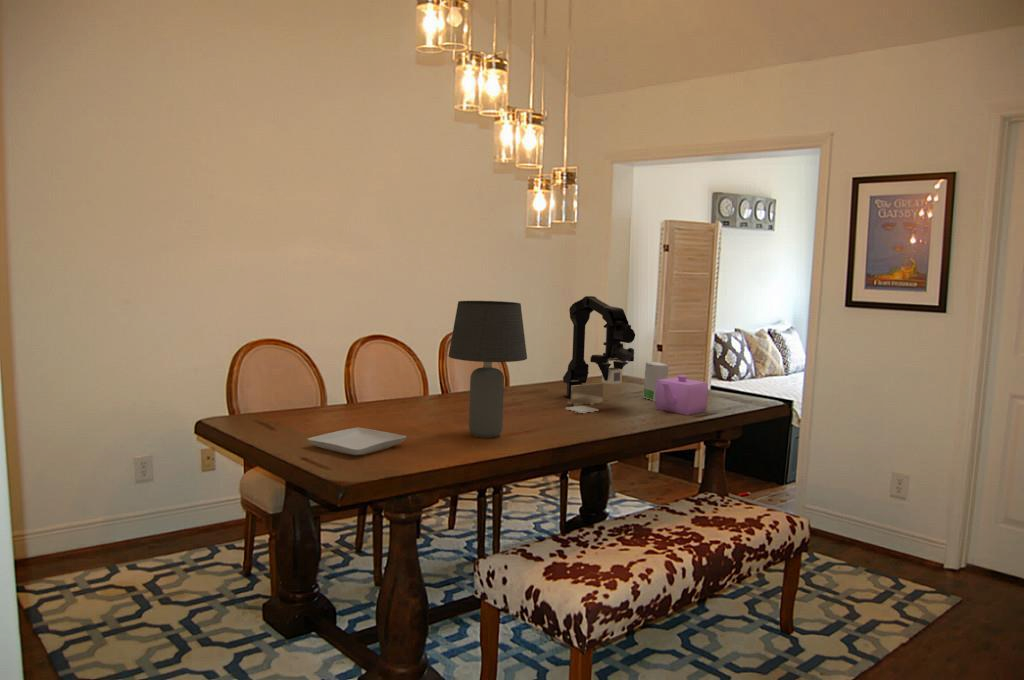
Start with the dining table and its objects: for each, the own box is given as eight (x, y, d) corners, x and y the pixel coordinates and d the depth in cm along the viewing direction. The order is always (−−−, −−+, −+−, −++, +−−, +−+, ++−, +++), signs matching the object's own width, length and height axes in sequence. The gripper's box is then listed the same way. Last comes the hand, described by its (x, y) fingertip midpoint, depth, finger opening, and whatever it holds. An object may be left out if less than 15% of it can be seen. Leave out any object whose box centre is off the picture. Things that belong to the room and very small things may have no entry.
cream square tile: (565, 409, 294) (565, 407, 294) (582, 407, 299) (583, 405, 299) (581, 413, 286) (581, 411, 286) (598, 411, 292) (598, 409, 292)
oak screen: (567, 404, 304) (568, 384, 303) (596, 401, 314) (597, 382, 313) (575, 406, 300) (576, 386, 299) (605, 403, 310) (606, 384, 309)
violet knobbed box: (643, 411, 296) (645, 375, 295) (681, 404, 313) (682, 371, 312) (676, 417, 285) (678, 380, 284) (713, 410, 302) (715, 375, 301)
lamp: (430, 434, 244) (433, 300, 240) (485, 423, 263) (488, 299, 259) (485, 448, 228) (490, 305, 223) (540, 436, 246) (545, 304, 242)
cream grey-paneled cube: (601, 382, 297) (602, 367, 297) (611, 381, 301) (612, 367, 300) (611, 384, 293) (612, 369, 292) (621, 383, 296) (622, 368, 296)
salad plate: (304, 448, 222) (305, 437, 222) (357, 436, 240) (357, 425, 239) (357, 461, 210) (357, 449, 210) (408, 447, 228) (408, 436, 228)
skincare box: (642, 398, 325) (644, 362, 324) (655, 397, 328) (657, 361, 326) (654, 401, 318) (656, 364, 316) (667, 400, 320) (669, 364, 319)
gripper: (610, 343, 283) (608, 384, 285) (645, 341, 295) (643, 381, 296) (590, 340, 292) (588, 380, 294) (624, 338, 303) (622, 377, 305)
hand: (611, 380), depth 297 cm, fingers closed on cream grey-paneled cube, 5 cm apart
